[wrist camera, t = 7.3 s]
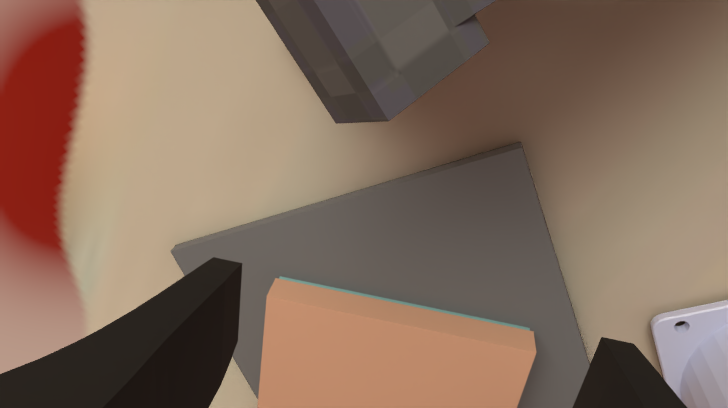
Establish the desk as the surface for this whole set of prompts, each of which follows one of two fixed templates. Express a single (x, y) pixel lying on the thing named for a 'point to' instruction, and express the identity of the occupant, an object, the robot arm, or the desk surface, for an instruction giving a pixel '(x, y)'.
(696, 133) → the desk surface
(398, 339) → the tile
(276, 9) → the handgun
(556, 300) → the mat
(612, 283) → the desk surface
